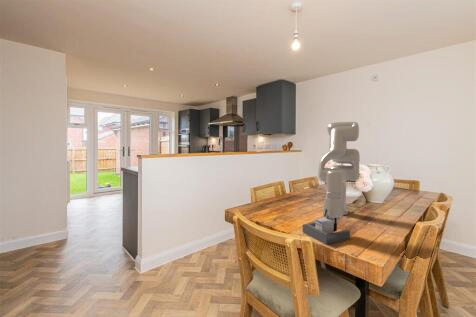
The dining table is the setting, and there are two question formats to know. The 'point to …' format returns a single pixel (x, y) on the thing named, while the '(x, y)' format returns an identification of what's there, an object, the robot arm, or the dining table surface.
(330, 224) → the medicine box
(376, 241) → the dining table surface
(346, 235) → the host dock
